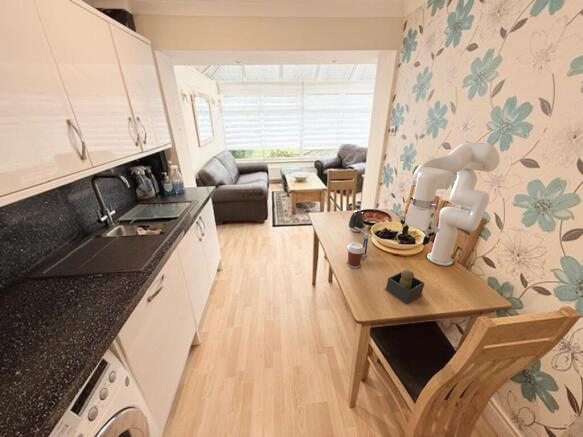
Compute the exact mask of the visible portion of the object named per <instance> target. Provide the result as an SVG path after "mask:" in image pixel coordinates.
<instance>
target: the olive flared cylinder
mask: <svg viewBox="0 0 583 437" xmlns="http://www.w3.org/2000/svg"><path fill="white" fill-rule="evenodd" d="M400 272H401V271H400ZM401 276H402V277H401V280H400V282H399V284H400V285H402V286H403V287H405V288H406V289H408V290H411V283H412V279H413V277H415V273H414V272H413V271H412V270H411V269H406V268H405V269H403V270H402V272H401Z"/></svg>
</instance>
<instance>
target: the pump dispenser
mask: <svg viewBox="0 0 583 437" xmlns="http://www.w3.org/2000/svg"><path fill="white" fill-rule="evenodd" d="M364 214H366V212H365V211H363V212H361V211H360V210H354V211H353V212H352V214H351V216H350V217H349V219H348V220H349V221H348V228H349V230H350V231H351V232H353V233H359V232H361V231H360V230H362V231H363V228H364V218H363V215H364ZM355 227H357V228H356V229H355ZM358 228H359V229H360V230H358Z"/></svg>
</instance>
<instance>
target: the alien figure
mask: <svg viewBox="0 0 583 437" xmlns="http://www.w3.org/2000/svg"><path fill="white" fill-rule="evenodd" d="M356 228H357V227H355V229H356ZM363 228H364V230H363V229H362V230H360V229H359V228H358V230H360V231H359V232H361V233H363V243H362V246H363V247H364V249H365V250H364V252H363V254H362V259H364V258H365V257H367V253H368V242H369V237H371V238H373V239H375V240H377V241H379V242H380V239H379V238H378V237H376V236H374V235H372V234H370V233H368V232H369V229H370V226H369V225H365V226H364V227H363Z"/></svg>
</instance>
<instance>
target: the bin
mask: <svg viewBox="0 0 583 437" xmlns="http://www.w3.org/2000/svg"><path fill="white" fill-rule="evenodd" d="M402 271H403V270H402ZM402 271H400V272H398V273H395V274H394V275H392V276H390V277H388V278H387V282H386V287H385V290H386V291H387V292H389V293H390V294H392V295H393V296H394V297H396V298H397V299H399V300H400V301H401V302H403V303H404V304H406V305H407V304H408V303H411V302H412V301H414V300H416V299H418V298H419V297H420V296H422V294H423V290H424V287H425V282H424V281H421V279H419V278H416V277H415V276H414V277H413V279H412V283H411V290H408V289H406V288H405V287H403V286H402V285H400V284H399V282H400V280H401V277H402V276H401V272H402Z"/></svg>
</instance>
